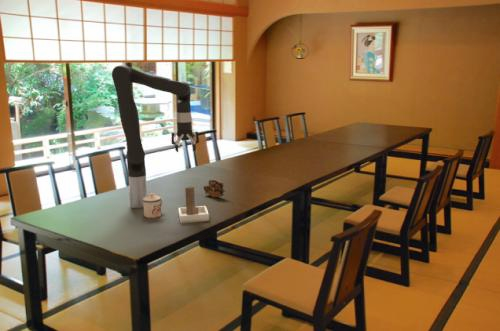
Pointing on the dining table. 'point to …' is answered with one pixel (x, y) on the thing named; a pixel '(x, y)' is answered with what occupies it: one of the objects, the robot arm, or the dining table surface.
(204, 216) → the tray
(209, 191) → the wooden carving
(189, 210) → the wooden block
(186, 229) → the dining table surface
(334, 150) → the dining table surface
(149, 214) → the teacup with lid
